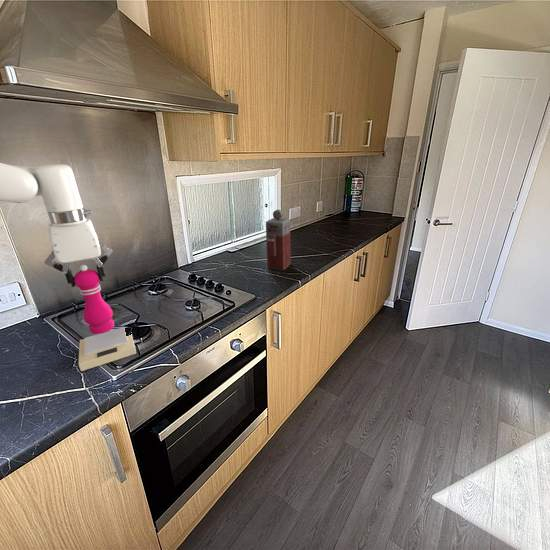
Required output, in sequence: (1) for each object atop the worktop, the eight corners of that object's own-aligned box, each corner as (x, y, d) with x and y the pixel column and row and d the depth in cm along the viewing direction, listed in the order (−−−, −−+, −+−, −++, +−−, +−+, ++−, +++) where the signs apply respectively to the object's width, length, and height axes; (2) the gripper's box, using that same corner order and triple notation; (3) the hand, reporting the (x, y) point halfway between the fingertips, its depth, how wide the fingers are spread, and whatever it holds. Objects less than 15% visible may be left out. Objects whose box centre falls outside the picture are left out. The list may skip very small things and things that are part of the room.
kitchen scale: (81, 371, 79) (77, 362, 78) (81, 346, 90) (79, 338, 89) (136, 353, 86) (134, 345, 85) (131, 332, 96) (129, 324, 95)
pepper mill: (117, 319, 90) (99, 258, 82) (114, 331, 84) (95, 267, 76) (91, 324, 88) (70, 262, 80) (86, 337, 82) (63, 272, 74)
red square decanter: (265, 269, 143) (262, 212, 132) (274, 261, 152) (273, 207, 141) (282, 272, 140) (280, 213, 129) (290, 264, 149) (290, 208, 138)
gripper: (105, 210, 80) (121, 271, 87) (27, 219, 72) (51, 285, 79) (107, 214, 74) (123, 279, 81) (21, 224, 66) (48, 295, 73)
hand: (88, 281), depth 80 cm, fingers closed on pepper mill, 6 cm apart
